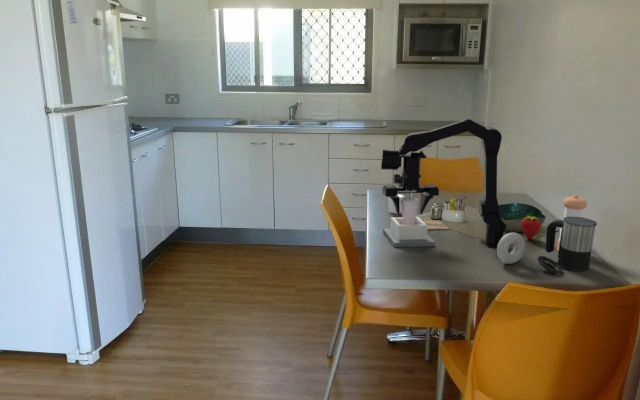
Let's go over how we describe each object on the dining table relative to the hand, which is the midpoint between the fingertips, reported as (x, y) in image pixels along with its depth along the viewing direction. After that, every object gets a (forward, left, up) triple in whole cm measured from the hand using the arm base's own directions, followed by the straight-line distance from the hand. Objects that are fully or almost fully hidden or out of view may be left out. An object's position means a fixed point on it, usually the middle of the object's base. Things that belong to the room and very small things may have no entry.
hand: (409, 214), depth 184 cm
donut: (-26, -25, -9) cm, 37 cm away
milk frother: (-31, -39, -9) cm, 51 cm away
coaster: (+15, -13, -9) cm, 22 cm away
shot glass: (+36, -5, -9) cm, 37 cm away
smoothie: (0, 0, -5) cm, 5 cm away
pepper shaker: (-17, -50, -9) cm, 53 cm away
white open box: (0, 0, -9) cm, 9 cm away
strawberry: (-4, -43, -9) cm, 44 cm away
